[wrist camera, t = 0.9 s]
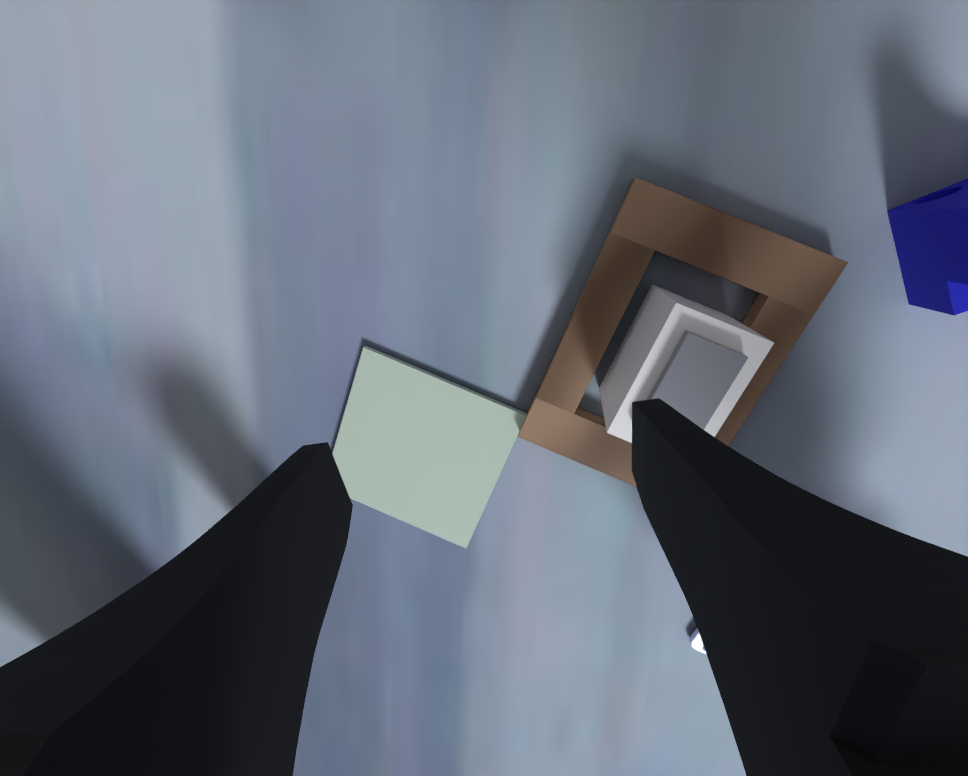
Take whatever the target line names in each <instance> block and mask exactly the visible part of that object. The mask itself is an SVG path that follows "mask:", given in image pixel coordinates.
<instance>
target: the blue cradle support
mask: <svg viewBox="0 0 968 776" xmlns="http://www.w3.org/2000/svg"><path fill="white" fill-rule="evenodd" d="M887 212H888V216H889V220H890V225H891V229H892V233H893V238H894V242H895V246H896V251H897V255H898V259H899V264H900V268H901V272H902V277H903V281H904V285H905V290H906V294H907V298H908V303H909V304H910V305H914V306H918V307H922V308H926V309H931V310H935V311H939V312H943V313H947V314H951V315H956V314H959V313H962V312H965V311H968V179H966V180H963V181H961V182H958V183H956V184H953V185H951V186H948V187H946V188H943V189H941V190H938V191H936V192H933V193H931V194H928V195H926V196H923V197H921V198H918V199H916V200H913V201H911V202H908V203H906V204H903V205H901V206H898V207H896V208H893V209H891V210H888V211H887Z"/></svg>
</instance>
